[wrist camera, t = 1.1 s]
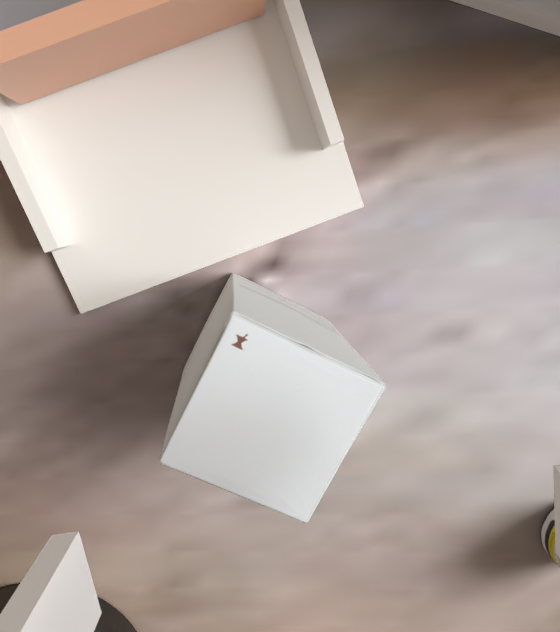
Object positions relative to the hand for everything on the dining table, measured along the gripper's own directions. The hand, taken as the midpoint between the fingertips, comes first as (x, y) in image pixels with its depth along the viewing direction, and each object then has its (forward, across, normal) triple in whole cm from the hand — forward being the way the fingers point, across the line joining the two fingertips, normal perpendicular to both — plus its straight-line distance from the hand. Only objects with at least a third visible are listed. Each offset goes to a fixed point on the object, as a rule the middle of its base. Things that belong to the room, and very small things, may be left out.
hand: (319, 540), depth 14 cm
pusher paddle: (+19, +7, -20) cm, 28 cm away
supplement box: (+20, +2, 0) cm, 20 cm away
